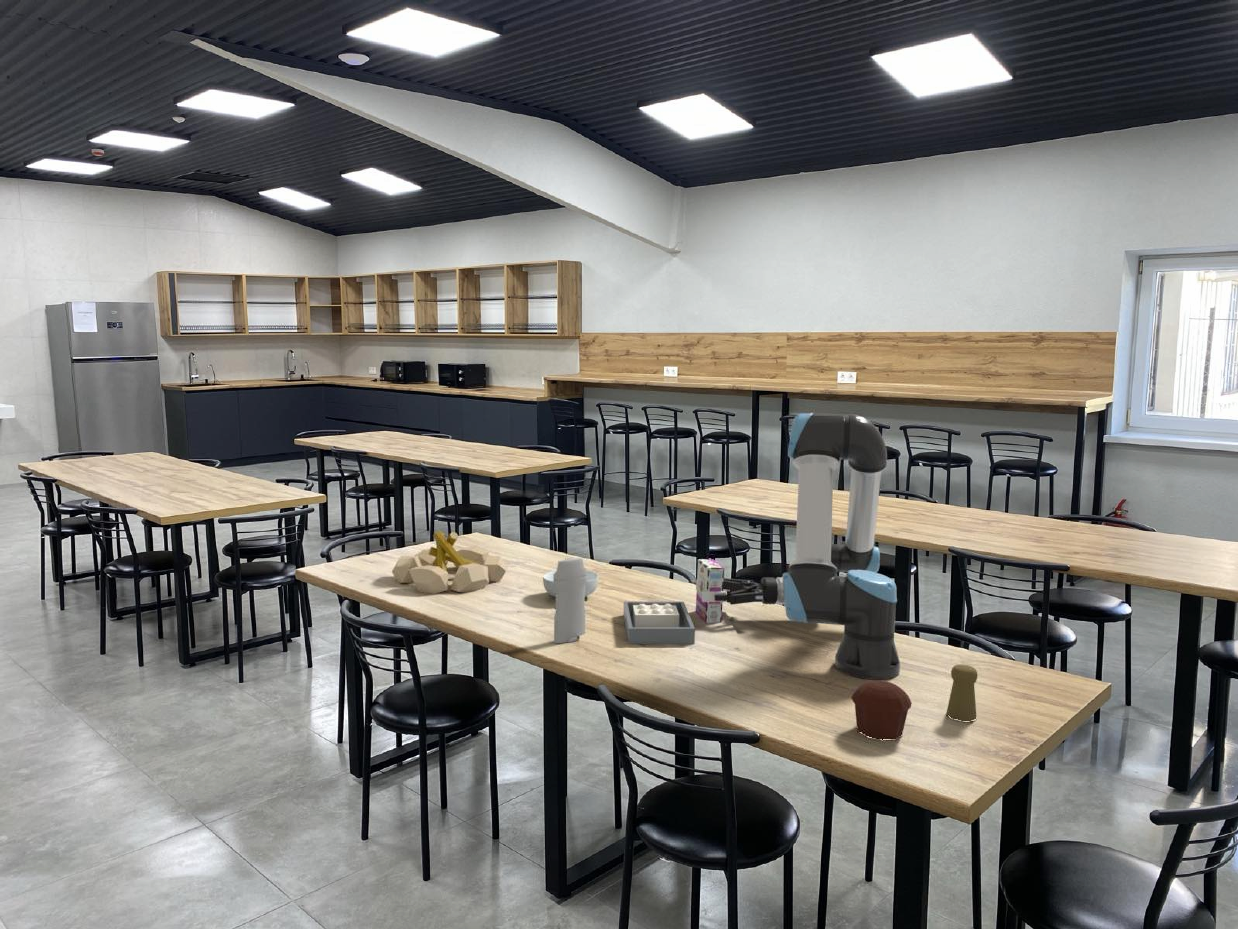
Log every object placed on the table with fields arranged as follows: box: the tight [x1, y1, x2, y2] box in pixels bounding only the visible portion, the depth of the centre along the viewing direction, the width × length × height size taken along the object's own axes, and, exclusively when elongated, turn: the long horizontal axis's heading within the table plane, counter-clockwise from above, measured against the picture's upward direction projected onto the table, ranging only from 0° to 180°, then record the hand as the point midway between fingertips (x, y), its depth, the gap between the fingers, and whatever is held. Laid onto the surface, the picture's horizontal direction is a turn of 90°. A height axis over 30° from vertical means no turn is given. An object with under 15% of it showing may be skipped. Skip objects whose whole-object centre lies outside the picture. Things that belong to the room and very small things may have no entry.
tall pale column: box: [553, 556, 588, 645], centre depth 230 cm, size 11×4×22 cm, turn 129°
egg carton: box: [633, 604, 679, 627], centre depth 243 cm, size 9×12×5 cm
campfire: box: [391, 530, 508, 595], centre depth 287 cm, size 35×34×17 cm
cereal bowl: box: [542, 569, 600, 598], centre depth 269 cm, size 17×17×7 cm
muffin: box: [850, 680, 913, 740], centre depth 178 cm, size 12×11×10 cm
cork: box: [946, 664, 978, 721], centre depth 186 cm, size 6×6×11 cm
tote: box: [622, 600, 696, 645], centre depth 238 cm, size 24×17×5 cm
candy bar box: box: [695, 558, 725, 624], centre depth 249 cm, size 11×5×16 cm, turn 10°
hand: (699, 590), depth 249 cm, fingers closed on candy bar box, 11 cm apart
